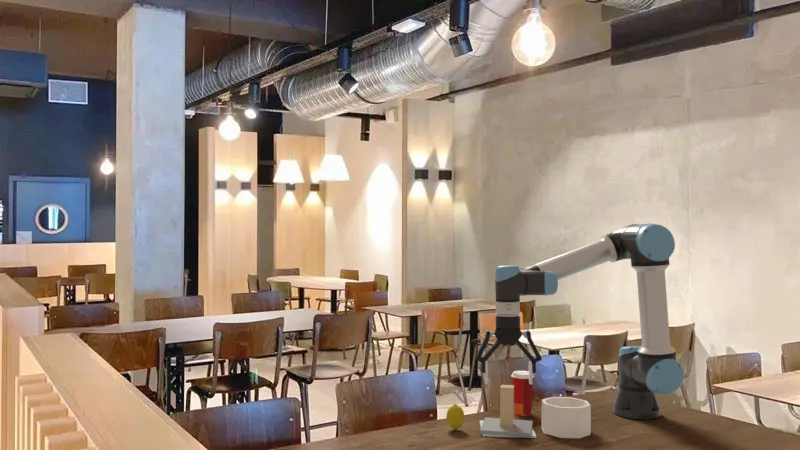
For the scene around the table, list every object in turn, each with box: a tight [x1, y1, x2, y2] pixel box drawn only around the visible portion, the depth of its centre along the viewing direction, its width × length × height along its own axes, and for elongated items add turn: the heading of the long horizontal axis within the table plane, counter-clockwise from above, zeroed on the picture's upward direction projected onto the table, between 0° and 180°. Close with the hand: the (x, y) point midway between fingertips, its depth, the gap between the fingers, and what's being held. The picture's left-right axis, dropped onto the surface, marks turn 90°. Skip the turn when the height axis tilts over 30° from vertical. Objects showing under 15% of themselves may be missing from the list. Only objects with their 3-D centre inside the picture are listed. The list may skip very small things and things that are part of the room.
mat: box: [479, 419, 537, 439], centre depth 216 cm, size 16×16×1 cm
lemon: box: [445, 403, 465, 431], centre depth 215 cm, size 6×6×8 cm
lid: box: [479, 384, 534, 437], centre depth 215 cm, size 15×15×13 cm
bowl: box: [540, 396, 592, 439], centre depth 215 cm, size 14×14×9 cm
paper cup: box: [510, 370, 535, 417], centre depth 236 cm, size 8×8×14 cm
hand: (508, 383), depth 216 cm, fingers open, 13 cm apart
